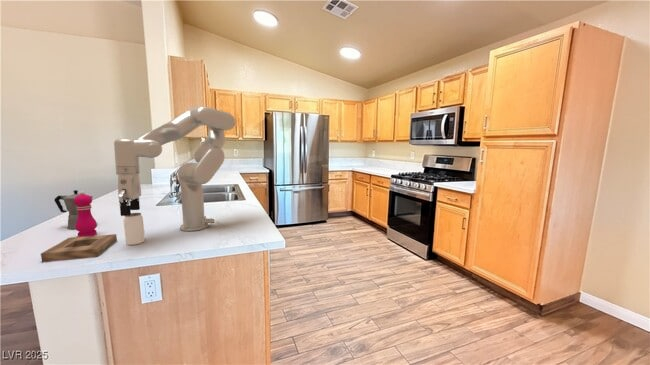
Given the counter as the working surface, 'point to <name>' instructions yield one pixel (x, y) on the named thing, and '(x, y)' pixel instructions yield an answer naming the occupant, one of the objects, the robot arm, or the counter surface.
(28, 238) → the counter surface
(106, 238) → the socket board
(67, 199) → the coffeepot
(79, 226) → the pepper mill
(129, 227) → the can
